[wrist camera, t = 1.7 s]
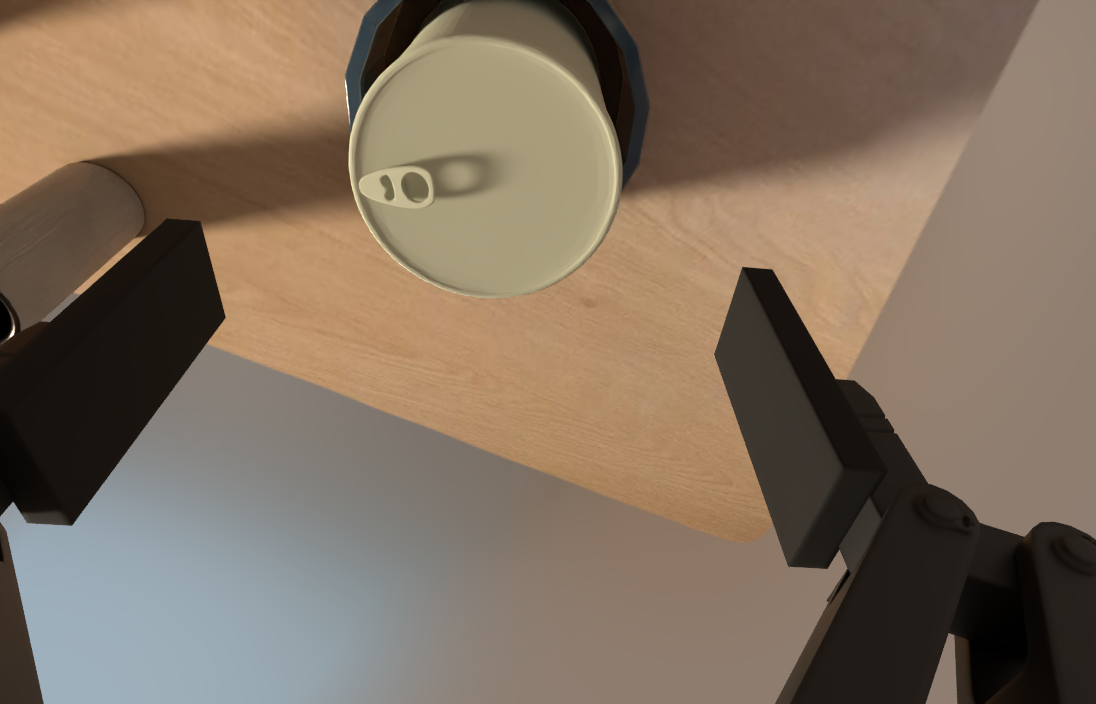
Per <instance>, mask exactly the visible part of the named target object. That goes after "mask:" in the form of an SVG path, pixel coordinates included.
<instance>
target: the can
mask: <svg viewBox="0 0 1096 704" xmlns="http://www.w3.org/2000/svg"><path fill="white" fill-rule="evenodd" d="M349 172H350V180H351V185H352V190H353V193H354V197H355V200H356V203H357V206H358V208H359V211H360V213H361V215H362V217H363V219H364V221H365V223H366V225H367V226H368V228H369V230H370V231H371V233H372V234H373V236H374V237H375V238H376V240H377V241H378V243H379V244H380V245H381V246H382V247H383V249H384V250H385V251H386V252H387V253H388V254H389V255H390V256H391V257H392V258H393V259H394V260H395V261H397V262H398V263H399V264H400V265H401V266H403V267H404V268H405V269H406V270H408V271H409V272H411V273H412V274H414V275H415V276H417V277H419V278H420V279H422V280H424V281H426V282H428V283H430V284H432V285H434V286H436V287H438V288H441V289H444V290H447V291H449V292H453V293H456V294H460V295H465V296H470V297H478V298H509V297H516V296H521V295H526V294H530V293H533V292H536V291H539V290H542V289H545V288H547V287H549V286H551V285H554V284H556V283H557V282H559V281H561V280H563V279H564V278H566V277H567V276H569V275H570V274H572V273H573V272H574V271H576V270H577V269H578V268H579V267H581V266H582V265H583V264H584V263H585V262H586V261H587V260H588V259H589V258H590V257H591V256H592V255H593V253H594V252H595V251H596V250H597V248H598V247H599V245H600V244H601V243H602V241H603V240H604V238H605V236H606V234H607V233H608V231H609V229H610V227H611V225H612V222H613V220H614V217H615V215H616V212H617V209H618V205H619V201H620V196H621V190H622V174H623V169H622V157H621V150H620V146H619V141H618V138H617V134H616V130H615V128H614V125H613V123H612V120H611V118H610V116H609V114H608V112H607V110H606V106H605V103H604V99H603V95H602V92H601V81H600V71H599V65H598V60H597V57H596V53H595V50H594V47H593V45H592V43H591V40H590V38H589V36H588V35H587V33H586V31H585V29H584V28H583V26H582V25H581V23H580V22H579V20H578V19H577V18H576V17H575V16H574V14H573V13H572V12H571V11H570V10H569V9H568V8H567V7H566V6H565V5H564V4H562V3H561V2H560V1H559V0H442V1H441V2H440V3H439V4H438V5H437V6H436V7H435V8H434V9H433V10H432V11H431V12H430V13H429V14H428V16H427V17H426V18H425V20H424V21H423V23H422V24H421V26H420V28H419V30H418V32H417V34H416V36H415V38H414V41H413V42H412V43H411V45H410V46H409V47H408V48H407V49H406V50H405V52H404V53H403V54H402V55H401V56H400V58H398V59H397V60H396V61H395V62H393V63H392V64H391V65H390V66H389V67H388V68H387V69H386V70H385V71H384V72H383V73H382V74H381V75H380V76H379V77H378V78H377V80H376V81H375V82H374V83H373V85H372V86H371V88H370V89H369V91H368V92H367V94H366V95H365V97H364V99H363V101H362V103H361V105H360V107H359V109H358V112H357V114H356V117H355V120H354V123H353V127H352V131H351V136H350V144H349Z"/></svg>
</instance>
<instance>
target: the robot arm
mask: <svg viewBox="0 0 1096 704" xmlns="http://www.w3.org/2000/svg"><path fill="white" fill-rule="evenodd" d="M225 318H226V317H225V313H224V309H223V306H222V302H221V298H220V294H219V290H218V286H217V283H216V279H215V275H214V271H213V267H212V264H211V260H210V256H209V252H208V248H207V245H206V241H205V237H204V233H203V229H202V226H201V222H200V221H191V220H179V219H168V218H167V219H166V220H165V221H164V222H163V223H161V224H160V225H159V226H158V227H157V228H156V229H155V230H153V231H152V232H151V233H150V234H149V235H148V236H147V237H146V238H144V239H143V240H142V241H141V242H140V243H139V244H138V245H137V246H135V247H134V248H133V249H132V250H131V251H130V252H129V253H128V254H126V255H125V256H124V257H123V258H122V259H121V260H120V261H118V262H117V263H116V264H115V265H114V266H113V267H112V268H111V269H109V270H108V271H107V272H106V273H105V274H104V275H103V276H102V277H100V278H99V279H98V280H97V281H96V282H95V283H94V284H93V285H91V286H90V287H89V288H88V289H87V290H86V291H85V292H84V293H82V294H81V295H80V296H79V297H78V298H77V299H76V300H75V301H73V302H72V303H71V304H70V305H69V306H68V307H67V308H65V309H64V310H63V311H62V312H61V313H60V314H59V315H58V316H56V317H55V318H54V319H53V320H52V321H51V322H41V321H40V322H38V323H36V324H34V325H32V326H30V327H28V328H26V329H24V330H22V331H20V332H18V333H16V334H14V335H12V336H11V337H10V338H9V339H8V340H6V341H5V342H4V343H3V344H2V345H1V346H0V516H1V515H2V514H3V513H4V511H5V510H6V509H7V508H8V506H9V505H10V504H11V503H12V502H14V503H15V505H16V506H17V508H18V510H19V511H20V513H21V514H22V516H23V517H24V519H25V520H26V522H27V523H36V524H53V525H70V526H72V525H73V524H74V522H75V521H76V519H77V518H78V517H79V515H80V514H81V513H82V511H83V510H84V509H85V507H86V506H87V505H88V503H89V502H90V500H91V499H92V498H93V496H94V495H95V494H96V492H97V491H98V490H99V488H100V487H101V485H102V484H103V483H104V482H105V480H106V479H107V477H108V476H109V475H110V473H111V472H112V471H113V469H114V468H115V467H116V465H117V464H118V463H119V461H120V460H121V459H122V457H123V456H124V455H125V453H126V452H127V450H128V449H129V448H130V446H131V445H132V444H133V442H134V441H135V440H136V438H137V437H138V436H139V434H140V433H141V431H142V430H143V429H144V427H145V426H146V425H147V423H148V422H149V421H150V419H151V418H152V417H153V415H154V414H155V412H156V411H157V410H158V408H159V407H160V406H161V404H162V403H163V402H164V400H165V399H166V398H167V396H168V395H169V393H170V392H171V391H172V390H173V388H174V387H175V385H176V384H177V383H178V381H179V380H180V379H181V377H182V376H183V375H184V373H185V372H186V371H187V369H188V368H189V366H190V365H191V363H192V362H193V361H194V360H195V358H196V357H197V356H198V354H199V353H200V352H201V350H202V349H203V348H204V346H205V345H206V343H207V342H208V341H209V339H210V338H211V337H212V335H213V334H214V333H215V331H216V330H217V329H218V327H219V326H220V325H221V323H222V322H223V320H224V319H225ZM714 355H715V358H716V361H717V364H718V367H719V370H720V373H721V375H722V378H723V381H724V384H725V387H726V390H727V393H728V395H729V398H730V401H731V404H732V407H733V410H734V413H735V415H736V418H737V421H738V424H739V427H740V430H741V433H742V436H743V438H744V441H745V444H746V447H747V450H748V453H749V456H750V458H751V461H752V464H753V467H754V470H755V473H756V476H757V478H758V481H759V484H760V487H761V490H762V493H763V496H764V498H765V501H766V504H767V507H768V510H769V513H770V516H771V518H772V521H773V524H774V527H775V530H776V533H777V536H778V539H779V541H780V544H781V547H782V550H783V553H784V556H785V558H786V561H787V564H788V566H789V567H805V568H806V567H807V568H822V569H828V567H829V565H830V564H831V562H832V561H833V559H834V557H835V556H836V554H837V552H838V551H839V549H840V551H841V554H842V556H843V558H844V561H845V563H846V565H847V568H848V569H847V570H846V572H845V573H844V575H843V576H842V578H841V579H840V581H839V583H838V584H837V585H836V587H835V589H834V590H833V592H832V593H831V595H830V596H829V598H828V599H827V601H828V604H827V606H826V608H825V610H824V612H823V614H822V616H821V618H820V619H819V622H818V623H817V625H816V627H815V629H814V631H813V633H812V635H811V637H810V638H809V640H808V642H807V644H806V646H805V648H804V650H803V652H802V654H801V656H800V657H799V659H798V661H797V663H796V665H795V667H794V669H793V671H792V673H791V674H790V676H789V678H788V680H787V682H786V684H785V686H784V688H783V690H782V692H781V693H780V695H779V697H778V699H777V701H776V703H775V704H925V703H926V700H927V697H928V694H929V691H930V688H931V685H932V682H933V679H934V676H935V673H936V669H937V667H938V664H939V661H940V657H941V654H942V651H943V648H944V645H945V642H946V639H947V636H948V633H950V634H953V635H955V658H956V678H957V679H956V680H957V702H958V704H1096V540H1095V539H1094V538H1092V537H1091V536H1090V535H1088V534H1086V533H1084V532H1082V531H1080V530H1078V529H1076V528H1073V527H1072V526H1068V525H1065V524H1061V523H1057V522H1041V523H1039V524H1038V525H1036V526H1035V527H1033V528H1032V530H1031V531H1030V532H1029V533H1028V534H1027V535H1026V536H1025V537H1023V536H1020V535H1017V534H1013V533H1010V532H1007V531H1004V530H1000V529H997V528H994V527H990V526H987V525H984V524H982V523H979V521H978V520H977V518H976V516H975V514H974V512H973V511H972V510H971V509H970V508H969V507H968V506H967V505H966V504H965V503H964V502H963V501H962V500H960V499H959V498H957V497H956V496H954V495H953V494H951V493H950V492H948V491H946V490H944V489H941V488H939V487H936V486H934V485H931V484H928V483H927V481H926V480H925V478H924V476H923V475H922V473H921V472H920V470H919V468H918V467H917V465H916V463H915V462H914V460H913V459H912V457H911V456H910V454H909V452H908V451H907V449H906V448H905V446H904V444H903V443H902V441H901V440H900V438H899V436H898V435H897V434H894V429H893V427H892V425H891V424H890V422H889V421H888V419H885V414H884V413H883V411H882V410H881V408H880V406H879V405H878V403H877V402H876V400H875V398H874V397H873V396H872V395H871V394H869V393H868V392H867V391H866V390H865V389H864V388H862V387H861V386H860V385H859V384H858V383H857V382H855V381H852V380H839V379H835V377H834V376H833V374H832V372H831V370H830V369H829V367H828V365H827V363H826V362H825V360H824V358H823V356H822V355H821V353H820V351H819V350H818V348H817V346H816V344H815V343H814V341H813V339H812V337H811V336H810V334H809V332H808V330H807V329H806V327H805V325H804V323H803V322H802V320H801V318H800V317H799V315H798V313H797V311H796V310H795V308H794V306H793V304H792V303H791V301H790V299H789V297H788V296H787V294H786V292H785V290H784V289H783V287H782V285H781V284H780V282H779V280H778V278H777V277H776V275H775V273H774V271H773V270H771V269H760V268H748V267H742V270H741V273H740V276H739V279H738V282H737V286H736V289H735V292H734V295H733V298H732V301H731V304H730V307H729V310H728V314H727V317H726V320H725V323H724V326H723V329H722V332H721V335H720V339H719V342H718V345H717V348H716V351H715V354H714ZM0 704H44V703H43V699H42V694H41V689H40V685H39V680H38V675H37V671H36V666H35V662H34V657H33V653H32V648H31V643H30V639H29V634H28V629H27V625H26V620H25V615H24V611H23V606H22V601H21V597H20V592H19V588H18V583H17V578H16V574H15V569H14V564H13V560H12V555H11V550H10V546H9V541H8V537H7V532H6V530H5V529H4V527H3V526H2V524H1V523H0Z"/></svg>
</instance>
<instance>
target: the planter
mask: <svg viewBox="0 0 1096 704" xmlns="http://www.w3.org/2000/svg"><path fill="white" fill-rule="evenodd" d="M144 219H145V215H144V209H143V206H142V203H141V201H140V199H139V198H138V196H137V194H136V193H135V191H134V190H133V189H132V188H131V187H130V186H129V185H128V184H127V183H126V182H125V181H124V180H123V179H122V178H121V177H119V176H118V175H116V174H115V173H113V172H112V171H110V170H108V169H106V168H103V167H101V166H98V165H95V164H91V163H83V162H78V163H71V164H68V165H66V166H64V167H62V168H59V169H57V170H56V171H54V172H52V173H51V174H49V175H47V176H46V177H44V178H43V179H41V180H39V181H38V182H36V183H34V184H33V185H31V186H29V187H28V188H26V189H24V190H23V191H21V192H19V193H18V194H16V195H14V196H13V197H11V198H10V199H8V200H6V201H5V202H3V203H1V204H0V346H1V345H2V344H3V343H4V342H5V341H6V340H8V339H9V338H10V337H11V336H12V335H14V334H16V333H18V332H20V331H22V330H24V329H26V328H28V327H30V326H32V325H34V324H36V323H38V322H40V321H41V320H42V319H43V318H45V317H46V316H47V315H48V314H49V313H50V312H51V311H52V310H54V309H55V308H56V307H57V306H58V305H59V304H60V303H61V302H63V301H64V300H65V299H66V298H67V297H68V296H69V295H71V294H72V293H73V292H74V291H75V290H76V289H77V288H78V287H80V286H81V285H82V284H83V283H84V282H85V281H86V280H88V279H89V278H90V277H91V276H92V275H93V274H94V273H95V272H97V271H98V270H99V269H100V268H101V267H102V266H103V265H104V264H106V263H107V262H108V261H109V260H110V259H111V258H112V257H113V256H115V255H116V254H117V253H118V252H119V251H120V250H121V249H122V248H124V247H125V246H126V245H127V244H128V243H129V242H130V241H132V240H133V239H134V238H135V237H136V235H137V234H138V233H139V232H140V231H141V229H142V227H143V225H144Z"/></svg>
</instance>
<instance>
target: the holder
mask: <svg viewBox="0 0 1096 704" xmlns="http://www.w3.org/2000/svg"><path fill="white" fill-rule="evenodd" d="M405 1H406V0H378V1H377V2H376V3H375V4H374V5H373V6H372V7H371V8H370V9H369V10H368V11H367V12H366V14H365V15H364V17H363V20H362V23H361V26H360V29H359V32H358V35H357V39H356V42H355V45H354V48H353V51H352V55H351V58H350V61H349V64H348V67H347V71H346V74H345V85H346V95H347V106H348V116H349V126H350V136H351V131H352V127H353V123H354V120H355V117H356V114H357V112H358V109H359V107H360V105H361V103H362V101H363V99H364V97H365V95H366V94H367V92H368V91H369V89H370V88H371V86H372V85H373V83H374V82H375V81H376V80H377V78H378V77H379V76H380V75H381V74H382V73H383V72H384V71H385V70H386V65H385V52H386V49H387V46H388V43H389V40H390V37H391V34H392V31H393V28H394V26H395V23H396V20H397V17H398V14H399V11H400V8H401V5H402V4H403V3H404V2H405ZM585 1H587V2H589V4H590V5H591V6H592V8H593V9H594V11H595V12H596V14H597V15H598V17H599V18H600V19H601V21H602V22H603V24H604V25H605V27H606V28H607V30H608V31H609V32H610V34H611V35H612V37H613V38H614V40H615V41H616V46H617V50H618V55H619V60H620V64H621V69H622V73H623V84H622V90H621V96H620V103H619V109H618V115H617V121H616V126H615V130H616V134H617V138H618V141H619V146H620V150H621V157H622V169H623V174H622V190H621V193H622V191H623V189H624V188H625V186H626V185H627V183H628V182H629V180H630V178H631V177H632V175H633V174H634V172H635V171H636V169H637V167H638V165H639V163H640V158H641V152H642V147H643V142H644V137H645V131H646V126H647V121H648V116H649V110H650V104H649V99H648V94H647V89H646V84H645V79H644V74H643V69H642V64H641V59H640V54H639V49H638V45H637V43H636V41H635V39H634V37H633V35H632V33H631V31H630V30H629V28H628V26H627V24H626V22H625V20H624V19H623V17H622V16H621V14H620V13H619V11H618V10H617V8H616V7H615V5H614V4H613V2H612V1H611V0H585Z"/></svg>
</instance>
